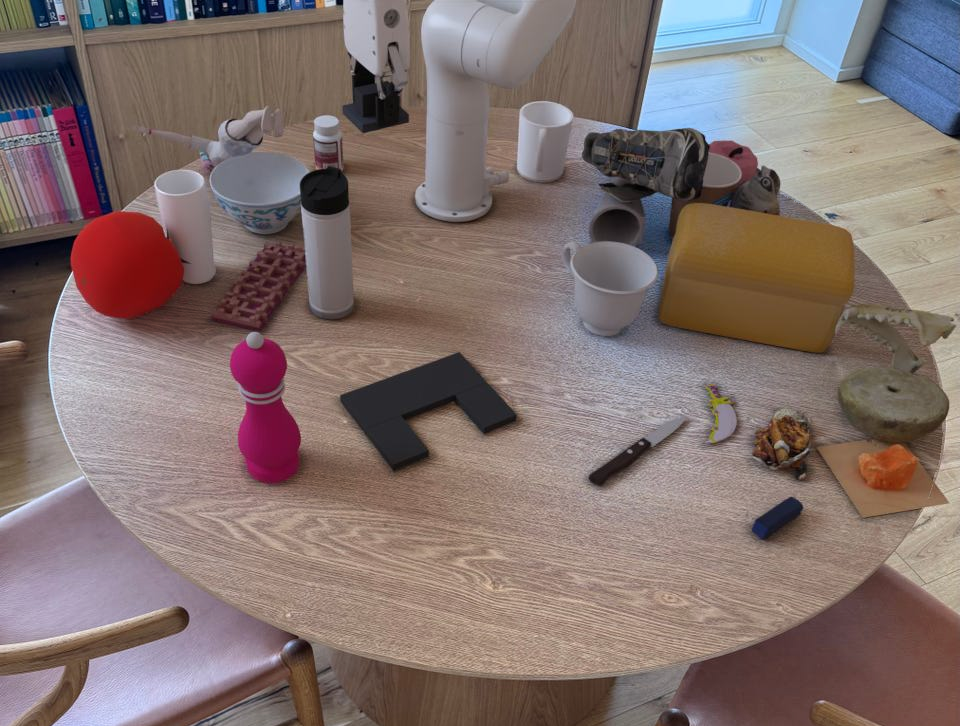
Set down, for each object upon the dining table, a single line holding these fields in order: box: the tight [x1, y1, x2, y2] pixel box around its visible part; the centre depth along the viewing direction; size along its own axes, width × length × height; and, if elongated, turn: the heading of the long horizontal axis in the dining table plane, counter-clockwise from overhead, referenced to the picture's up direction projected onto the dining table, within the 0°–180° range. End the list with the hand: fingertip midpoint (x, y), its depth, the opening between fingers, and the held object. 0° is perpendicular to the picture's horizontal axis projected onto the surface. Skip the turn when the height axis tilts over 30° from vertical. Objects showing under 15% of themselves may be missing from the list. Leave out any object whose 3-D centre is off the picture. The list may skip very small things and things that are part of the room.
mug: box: [516, 100, 574, 184], centre depth 158 cm, size 11×9×10 cm
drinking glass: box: [153, 169, 217, 285], centre depth 131 cm, size 7×7×15 cm
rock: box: [815, 438, 950, 519], centre depth 116 cm, size 12×12×4 cm
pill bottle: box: [312, 114, 344, 172], centre depth 156 cm, size 5×5×8 cm
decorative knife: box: [704, 383, 738, 444], centre depth 123 cm, size 12×1×5 cm
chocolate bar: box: [209, 240, 306, 333], centre depth 135 cm, size 7×19×2 cm, turn 165°
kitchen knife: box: [588, 415, 687, 487], centre depth 118 cm, size 18×1×2 cm
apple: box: [708, 140, 759, 201], centre depth 157 cm, size 10×9×10 cm
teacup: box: [561, 240, 659, 337], centre depth 132 cm, size 12×15×10 cm
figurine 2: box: [729, 165, 781, 216], centre depth 145 cm, size 9×19×10 cm
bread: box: [657, 203, 855, 354], centre depth 133 cm, size 24×13×15 cm, turn 78°
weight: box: [837, 365, 950, 443], centre depth 123 cm, size 14×13×5 cm
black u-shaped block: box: [339, 351, 518, 472], centre depth 120 cm, size 18×14×1 cm
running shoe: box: [581, 127, 710, 211], centre depth 141 cm, size 12×28×12 cm
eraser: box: [751, 496, 804, 540], centre depth 111 cm, size 2×2×7 cm
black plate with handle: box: [341, 80, 410, 134], centre depth 125 cm, size 7×6×4 cm
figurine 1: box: [131, 105, 285, 174], centre depth 143 cm, size 29×6×30 cm
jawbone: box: [835, 303, 957, 375], centre depth 127 cm, size 12×13×8 cm
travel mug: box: [300, 166, 355, 320], centre depth 126 cm, size 6×7×20 cm
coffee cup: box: [668, 152, 742, 241], centre depth 147 cm, size 10×10×12 cm
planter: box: [588, 177, 647, 247], centre depth 154 cm, size 8×9×26 cm
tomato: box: [70, 210, 191, 320], centre depth 127 cm, size 16×14×14 cm
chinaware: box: [209, 151, 311, 235], centre depth 144 cm, size 15×15×8 cm
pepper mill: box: [229, 331, 302, 484], centre depth 105 cm, size 7×7×20 cm
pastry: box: [751, 407, 812, 481], centre depth 119 cm, size 7×12×4 cm, turn 163°
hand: (375, 112), depth 126 cm, fingers closed on black plate with handle, 6 cm apart
